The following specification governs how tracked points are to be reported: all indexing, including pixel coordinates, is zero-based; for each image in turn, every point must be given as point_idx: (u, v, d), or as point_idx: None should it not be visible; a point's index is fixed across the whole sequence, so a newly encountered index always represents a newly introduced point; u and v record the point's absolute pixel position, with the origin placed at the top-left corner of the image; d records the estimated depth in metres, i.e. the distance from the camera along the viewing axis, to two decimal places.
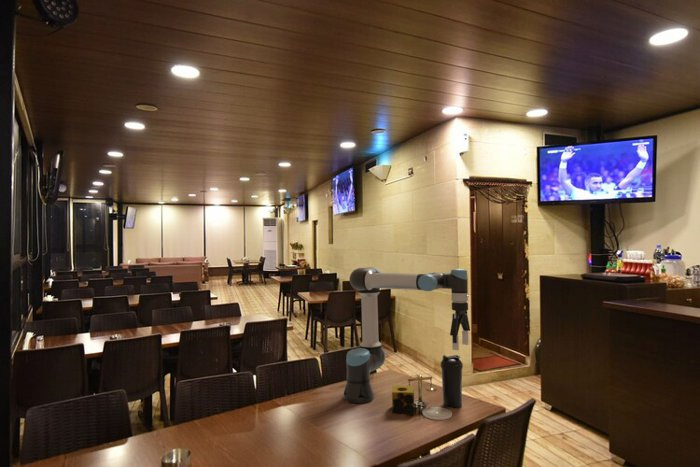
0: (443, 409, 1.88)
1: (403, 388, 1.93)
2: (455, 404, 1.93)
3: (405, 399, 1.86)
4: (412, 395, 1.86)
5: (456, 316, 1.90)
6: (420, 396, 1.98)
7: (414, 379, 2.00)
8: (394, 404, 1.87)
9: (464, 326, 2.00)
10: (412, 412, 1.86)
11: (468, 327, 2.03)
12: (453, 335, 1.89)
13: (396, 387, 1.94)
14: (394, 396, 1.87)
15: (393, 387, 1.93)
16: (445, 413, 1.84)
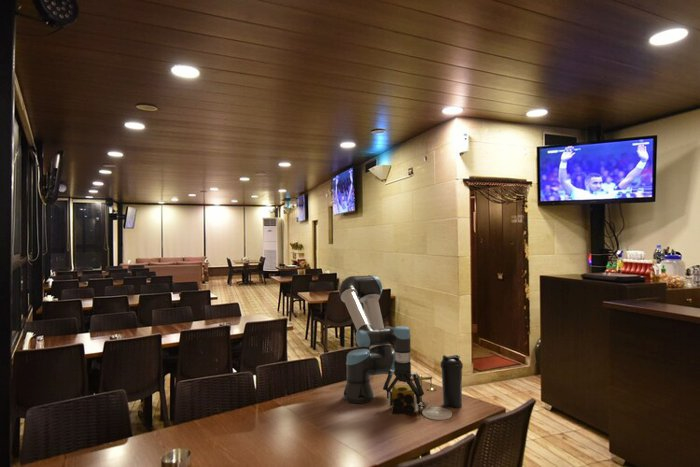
0: (443, 409, 1.88)
1: (403, 388, 1.93)
2: (455, 404, 1.93)
3: (405, 399, 1.86)
4: (412, 395, 1.86)
5: None
6: (420, 396, 1.98)
7: None
8: (394, 404, 1.87)
9: None
10: (412, 412, 1.86)
11: (419, 394, 1.86)
12: None
13: (396, 387, 1.94)
14: (394, 396, 1.87)
15: (393, 387, 1.94)
16: (445, 413, 1.84)
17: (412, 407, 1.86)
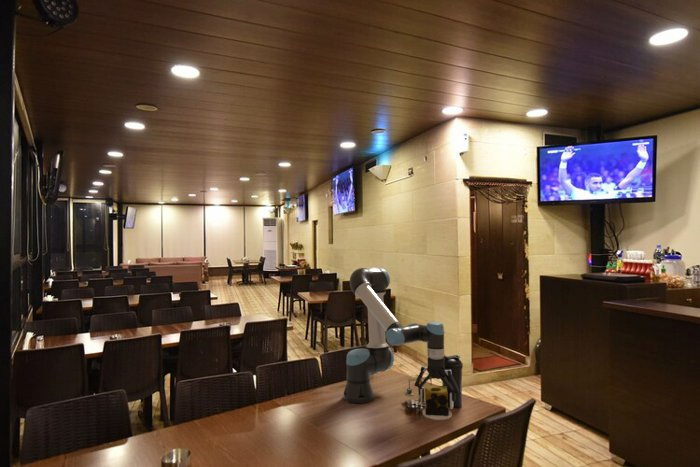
0: None
1: (437, 388, 1.88)
2: (455, 404, 1.93)
3: (438, 400, 1.81)
4: (446, 396, 1.81)
5: None
6: (420, 396, 1.98)
7: (414, 379, 2.00)
8: (427, 404, 1.82)
9: None
10: (446, 413, 1.80)
11: (455, 391, 1.81)
12: (418, 386, 1.91)
13: (429, 387, 1.89)
14: (427, 396, 1.82)
15: (426, 387, 1.89)
16: None
17: (446, 408, 1.81)
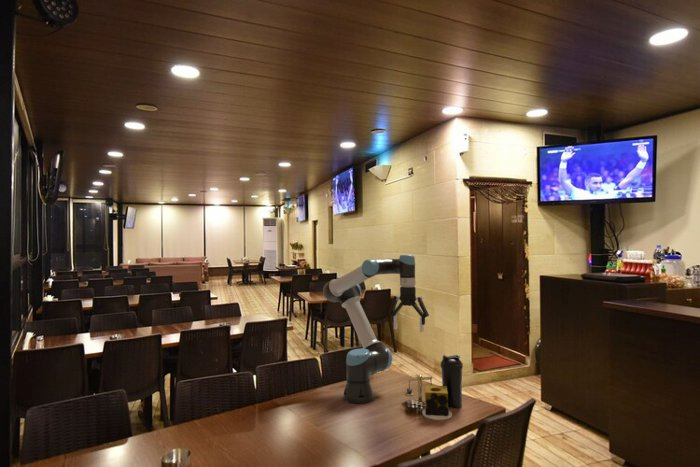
0: None
1: (437, 388, 1.88)
2: (455, 404, 1.93)
3: (438, 400, 1.81)
4: (446, 396, 1.81)
5: None
6: (420, 396, 1.98)
7: (414, 379, 2.00)
8: (427, 404, 1.82)
9: None
10: (446, 413, 1.80)
11: (424, 315, 1.97)
12: (391, 314, 2.07)
13: (429, 387, 1.89)
14: (427, 396, 1.82)
15: (426, 387, 1.89)
16: None
17: (446, 408, 1.81)
